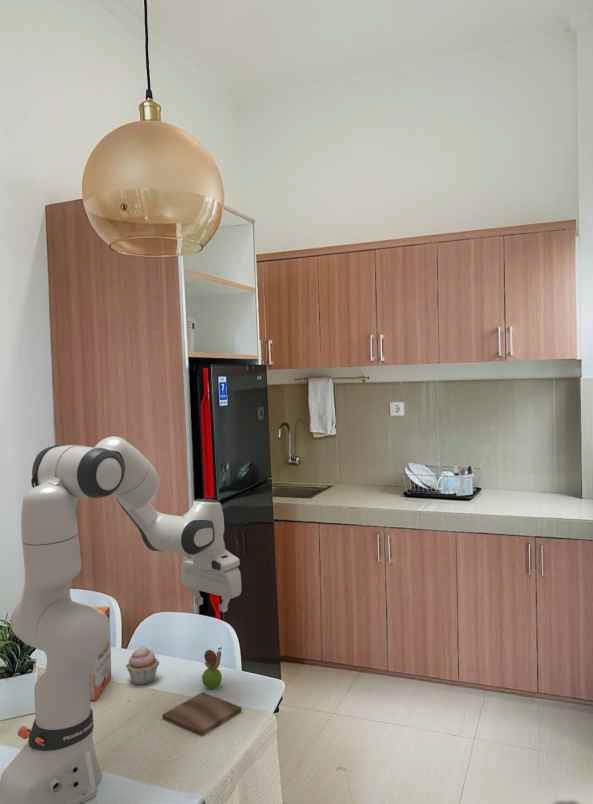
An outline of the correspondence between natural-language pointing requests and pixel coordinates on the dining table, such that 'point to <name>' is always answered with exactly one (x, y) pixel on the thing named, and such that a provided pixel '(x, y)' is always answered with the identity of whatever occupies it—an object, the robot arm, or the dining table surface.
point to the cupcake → (142, 666)
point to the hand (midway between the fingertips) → (211, 607)
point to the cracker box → (101, 664)
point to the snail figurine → (212, 669)
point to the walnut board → (201, 713)
